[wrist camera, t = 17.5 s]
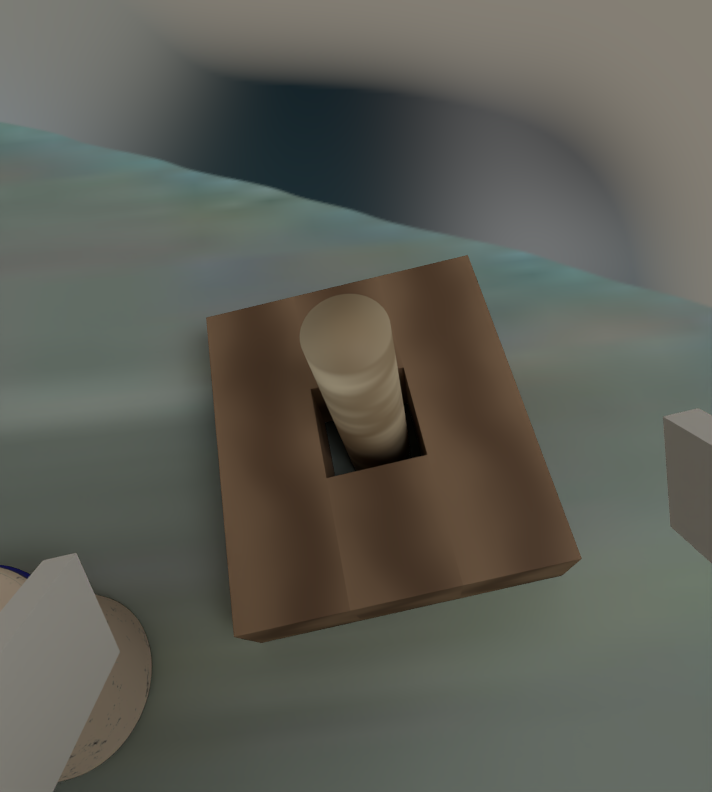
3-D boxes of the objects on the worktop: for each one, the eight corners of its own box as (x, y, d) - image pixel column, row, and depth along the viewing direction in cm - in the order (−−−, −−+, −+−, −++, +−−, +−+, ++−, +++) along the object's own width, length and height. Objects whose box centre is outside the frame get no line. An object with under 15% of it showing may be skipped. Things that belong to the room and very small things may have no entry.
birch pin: (355, 486, 33) (306, 381, 21) (345, 430, 35) (294, 305, 23) (416, 472, 33) (399, 359, 21) (402, 416, 34) (380, 284, 23)
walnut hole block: (261, 642, 30) (233, 636, 26) (230, 355, 38) (206, 317, 34) (561, 575, 29) (581, 558, 25) (464, 300, 38) (467, 255, 34)
